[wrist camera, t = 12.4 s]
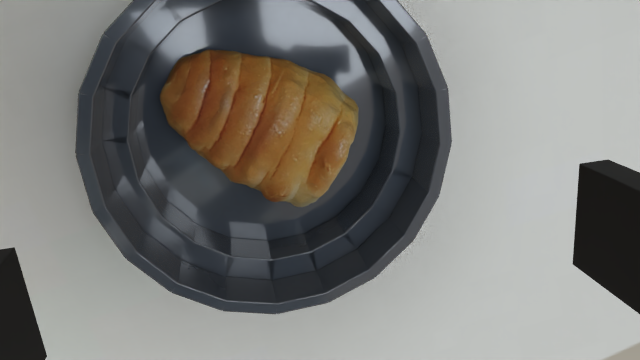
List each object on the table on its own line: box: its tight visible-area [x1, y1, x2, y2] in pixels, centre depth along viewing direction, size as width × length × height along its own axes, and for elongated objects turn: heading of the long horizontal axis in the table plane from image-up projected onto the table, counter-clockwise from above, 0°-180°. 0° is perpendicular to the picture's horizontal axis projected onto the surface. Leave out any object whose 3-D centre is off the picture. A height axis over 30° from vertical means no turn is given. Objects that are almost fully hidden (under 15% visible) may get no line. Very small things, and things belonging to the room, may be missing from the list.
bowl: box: [75, 0, 452, 314], centre depth 27 cm, size 16×16×6 cm
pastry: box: [160, 50, 358, 207], centre depth 27 cm, size 9×7×4 cm
